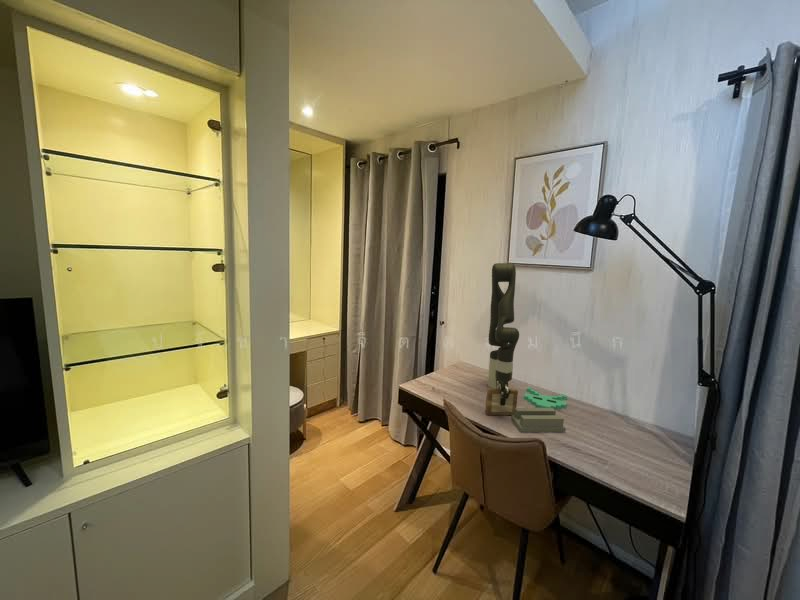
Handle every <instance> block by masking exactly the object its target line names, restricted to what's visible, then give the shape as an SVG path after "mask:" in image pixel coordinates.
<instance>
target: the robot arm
mask: <svg viewBox="0 0 800 600" xmlns="http://www.w3.org/2000/svg"><path fill="white" fill-rule="evenodd" d="M516 278H517V269H516V265H515V263H512V262H502V263H501V262H498V263H493V265H492V267H491V300H490V319H489V320H490V323H489V330H488V344H489V345H490V346H494V347H498V349H495V350H492V351H490V352H489V363H488V374H487V375H488V376H487V377H488V378H487V386H488V388H489V389H500V393H501V399H500V405H501V406H504V405H505V400H506V399H508V397H509V394H510V391H511V390H510V389H511V388H509V386H510V385H509V382H510V381H512V380H513V372H514V371H513V369H514V352H515V349H516V346H517V344H518V342H519V339H520V332H519V330H518V328H516V327H510V326H509V327H507V326H504V325H507V324H512V323H514V321H515V307H514V306H515V305H514V304H515V291H516ZM500 283H508V286H507V289H506V291H505V292H503V290H502V289H501V287H500Z"/></svg>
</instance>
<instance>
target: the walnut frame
mask: <svg viewBox="0 0 800 600" xmlns="http://www.w3.org/2000/svg"><path fill="white" fill-rule="evenodd" d="M509 389H510V390H511V391H510V394H509V397H508V399H506V400H505V405H504V406H501V405H500V399H501V393H500V389H492V388H486V397H485V399H486V400H485V411H484V413H485V414H486V416H488V415H489V416H493V415H495V416H497V415H498V416H499V415H501V416H502V415H504V416H505V415H507V416H509V415H514V409H515V408H518V407H517V406H518V405H517V404H518V394H519V390H518V389H517V388H509Z"/></svg>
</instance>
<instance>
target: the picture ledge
mask: <svg viewBox="0 0 800 600" xmlns="http://www.w3.org/2000/svg"><path fill="white" fill-rule="evenodd" d="M556 412H557V411H556V410H554V409H553V408H536V407H516V408H515V409H514V415H511V416H510V420H511V421H512V423H513V424H514V426H515V427H516V428H517V429H518V431H519V432H520V433H566V429H567V428H566V426H564V423H565V421H564V420H565V418H564V417H563V416H562V415H561V414H559V415H556Z"/></svg>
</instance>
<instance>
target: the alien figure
mask: <svg viewBox="0 0 800 600" xmlns="http://www.w3.org/2000/svg"><path fill="white" fill-rule="evenodd" d="M526 392H527V393H526ZM526 392H525V393H524V395H523V400H525V401H527V403H530V404H531V405H532V406H534V407H535V408H553V409H554V410H555V411H556V409H557V410H561V409H566V408H567V401H566V400H567V398H568V395H567V394H562V395H559V394H558V395H557V396H556V395H552V396H549V395H545V394H544V395H543V394H540V392H539V391H538V392H537V391H536V390H535V389H532V387H529V386H527V387H526ZM564 400H565V401H564Z"/></svg>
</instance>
